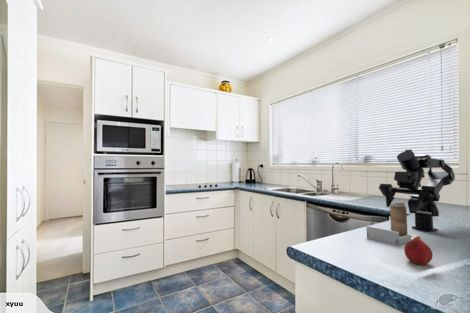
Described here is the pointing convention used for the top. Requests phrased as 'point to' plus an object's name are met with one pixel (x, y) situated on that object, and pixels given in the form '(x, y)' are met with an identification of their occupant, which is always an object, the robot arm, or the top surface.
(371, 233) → the lane rack
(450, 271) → the top surface
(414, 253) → the onion
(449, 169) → the robot arm
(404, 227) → the pepper mill
